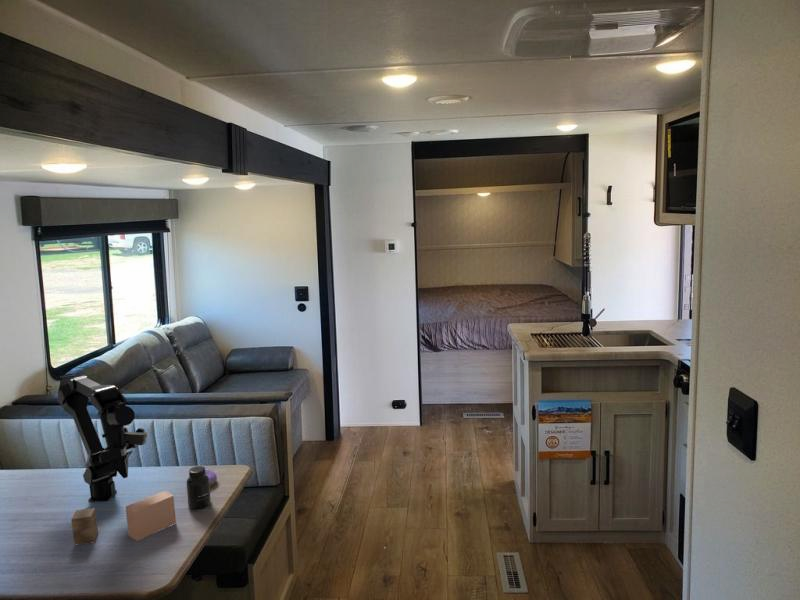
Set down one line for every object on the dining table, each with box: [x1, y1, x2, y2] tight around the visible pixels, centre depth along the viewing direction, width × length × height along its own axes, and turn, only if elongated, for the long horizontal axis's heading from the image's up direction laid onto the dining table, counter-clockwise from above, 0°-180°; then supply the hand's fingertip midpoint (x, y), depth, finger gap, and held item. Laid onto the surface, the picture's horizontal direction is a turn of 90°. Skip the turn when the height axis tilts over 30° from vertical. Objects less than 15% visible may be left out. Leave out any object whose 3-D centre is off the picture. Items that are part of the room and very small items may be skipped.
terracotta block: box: [125, 490, 177, 542], centre depth 180 cm, size 5×12×9 cm, turn 139°
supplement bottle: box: [185, 465, 212, 511], centre depth 193 cm, size 7×7×12 cm
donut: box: [205, 469, 218, 488], centre depth 208 cm, size 10×9×5 cm
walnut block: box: [71, 507, 99, 545], centre depth 176 cm, size 5×5×8 cm
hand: (125, 477), depth 188 cm, fingers closed
